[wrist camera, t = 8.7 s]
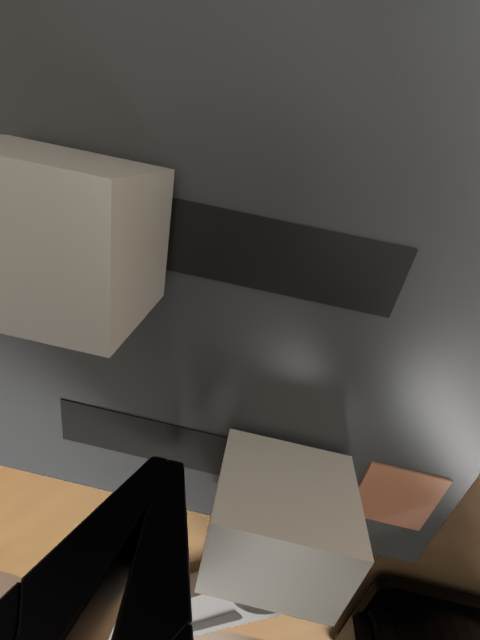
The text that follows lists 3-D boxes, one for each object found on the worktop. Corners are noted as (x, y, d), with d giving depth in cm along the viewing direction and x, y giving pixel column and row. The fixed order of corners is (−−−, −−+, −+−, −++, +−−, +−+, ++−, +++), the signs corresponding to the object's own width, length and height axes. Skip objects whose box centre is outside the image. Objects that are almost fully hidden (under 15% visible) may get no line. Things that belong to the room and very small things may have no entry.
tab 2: (351, 456, 8) (374, 562, 6) (322, 518, 9) (333, 626, 7) (229, 428, 8) (210, 523, 6) (215, 492, 9) (194, 592, 7)
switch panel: (849, -261, 5) (1219, -533, 3) (395, 501, 12) (415, 566, 10) (-136, -419, 5) (-378, -745, 3) (4, 410, 12) (-47, 456, 10)
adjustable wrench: (268, 531, 14) (266, 578, 13) (338, 611, 16) (344, 660, 15) (-63, 629, 22) (-89, 665, 21) (12, 674, 24) (-7, 711, 23)
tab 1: (174, 169, 6) (111, 179, 4) (163, 295, 7) (109, 358, 5) (8, 134, 6) (-145, 125, 4) (22, 264, 7) (-92, 312, 5)
